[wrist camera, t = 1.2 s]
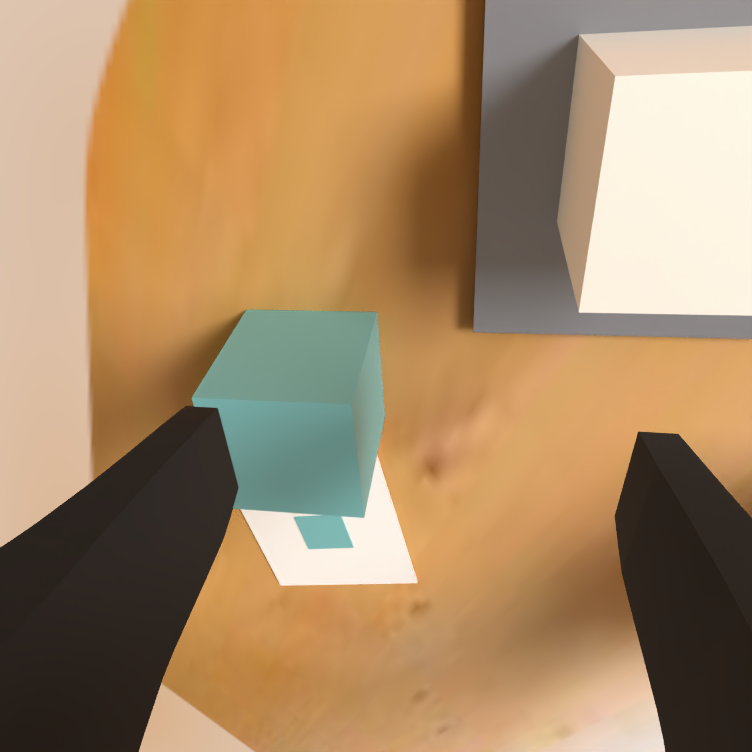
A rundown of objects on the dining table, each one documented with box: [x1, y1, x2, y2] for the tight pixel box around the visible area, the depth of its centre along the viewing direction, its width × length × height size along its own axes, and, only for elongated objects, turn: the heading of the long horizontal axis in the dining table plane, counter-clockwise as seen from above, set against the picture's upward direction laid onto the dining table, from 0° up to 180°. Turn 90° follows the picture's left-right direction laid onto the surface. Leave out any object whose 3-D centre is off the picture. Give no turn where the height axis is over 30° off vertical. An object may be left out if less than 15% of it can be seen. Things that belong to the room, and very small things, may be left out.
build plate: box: [473, 0, 752, 339], centre depth 15 cm, size 12×9×1 cm
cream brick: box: [557, 26, 752, 316], centre depth 13 cm, size 5×5×5 cm
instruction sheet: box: [241, 456, 417, 586], centre depth 27 cm, size 10×7×1 cm
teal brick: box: [191, 310, 385, 518], centre depth 20 cm, size 5×5×5 cm
